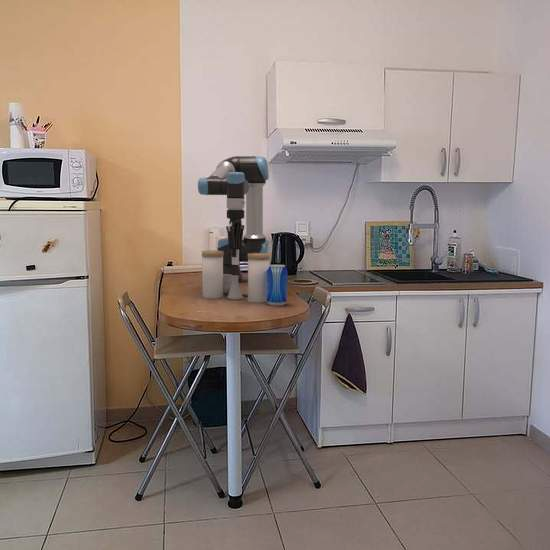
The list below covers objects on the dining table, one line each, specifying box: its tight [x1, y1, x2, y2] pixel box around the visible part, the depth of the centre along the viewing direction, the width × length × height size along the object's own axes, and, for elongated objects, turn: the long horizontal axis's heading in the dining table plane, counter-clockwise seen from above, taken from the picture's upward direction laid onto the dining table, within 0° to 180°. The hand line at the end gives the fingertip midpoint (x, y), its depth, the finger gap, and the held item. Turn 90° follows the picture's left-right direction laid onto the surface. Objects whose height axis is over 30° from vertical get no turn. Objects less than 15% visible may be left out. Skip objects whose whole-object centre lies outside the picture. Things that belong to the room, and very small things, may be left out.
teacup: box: [223, 274, 233, 293], centre depth 252 cm, size 14×11×8 cm
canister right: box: [247, 252, 271, 304], centre depth 229 cm, size 9×9×20 cm
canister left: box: [201, 250, 224, 300], centre depth 237 cm, size 9×9×20 cm
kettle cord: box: [223, 292, 248, 298], centre depth 241 cm, size 25×1×1 cm, turn 67°
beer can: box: [266, 264, 288, 307], centre depth 222 cm, size 8×8×16 cm
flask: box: [226, 275, 244, 301], centre depth 234 cm, size 7×7×10 cm
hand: (235, 264), depth 233 cm, fingers closed
